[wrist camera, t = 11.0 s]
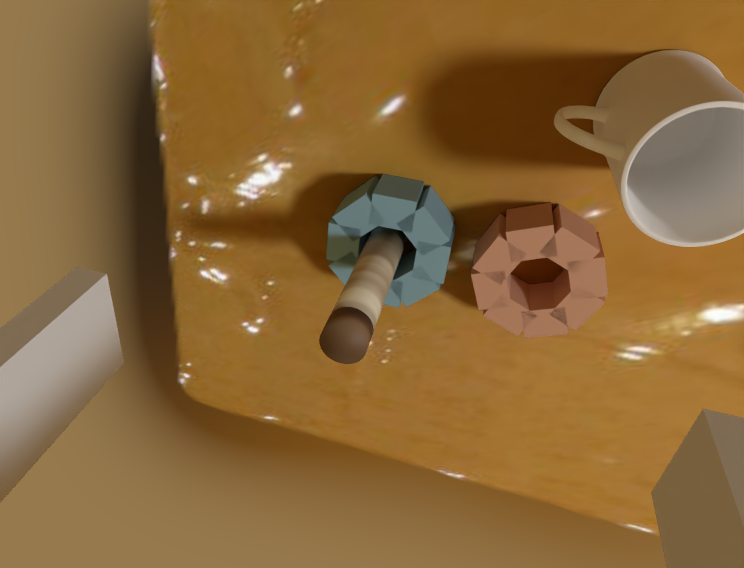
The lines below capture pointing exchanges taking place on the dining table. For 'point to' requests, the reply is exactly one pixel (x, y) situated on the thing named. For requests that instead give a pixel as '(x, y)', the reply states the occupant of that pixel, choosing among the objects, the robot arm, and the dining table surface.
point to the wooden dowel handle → (363, 297)
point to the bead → (401, 212)
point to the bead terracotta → (542, 300)
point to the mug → (671, 146)
